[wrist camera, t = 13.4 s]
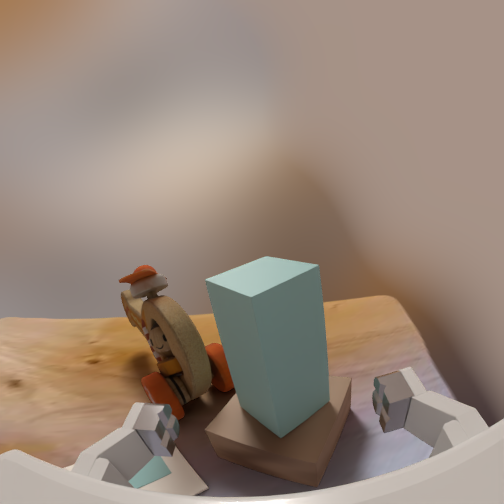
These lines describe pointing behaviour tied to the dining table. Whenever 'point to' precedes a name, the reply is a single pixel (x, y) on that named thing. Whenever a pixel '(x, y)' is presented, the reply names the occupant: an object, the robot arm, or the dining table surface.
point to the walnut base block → (283, 438)
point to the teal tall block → (274, 339)
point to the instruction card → (167, 476)
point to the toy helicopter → (172, 344)
